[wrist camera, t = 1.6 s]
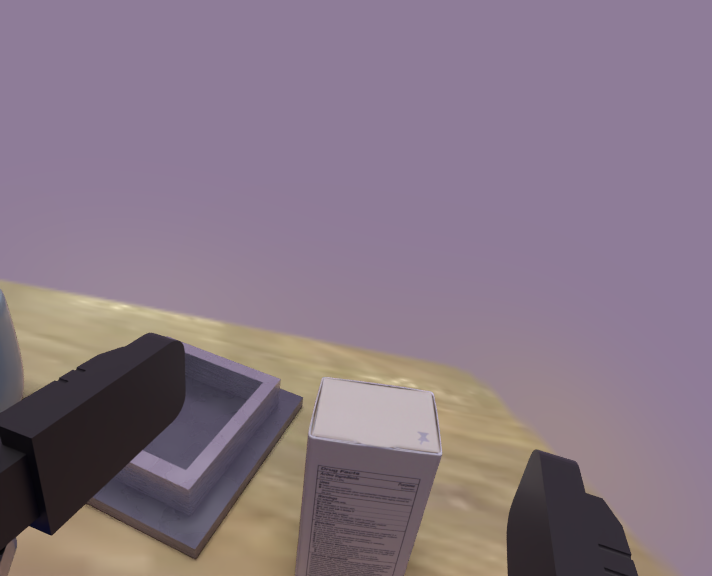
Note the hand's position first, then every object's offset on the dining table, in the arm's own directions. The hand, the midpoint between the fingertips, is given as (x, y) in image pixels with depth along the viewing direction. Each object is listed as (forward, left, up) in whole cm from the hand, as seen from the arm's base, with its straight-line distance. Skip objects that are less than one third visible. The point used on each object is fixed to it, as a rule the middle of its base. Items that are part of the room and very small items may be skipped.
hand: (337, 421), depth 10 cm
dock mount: (-15, +12, -20) cm, 28 cm away
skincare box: (0, +9, -20) cm, 22 cm away
